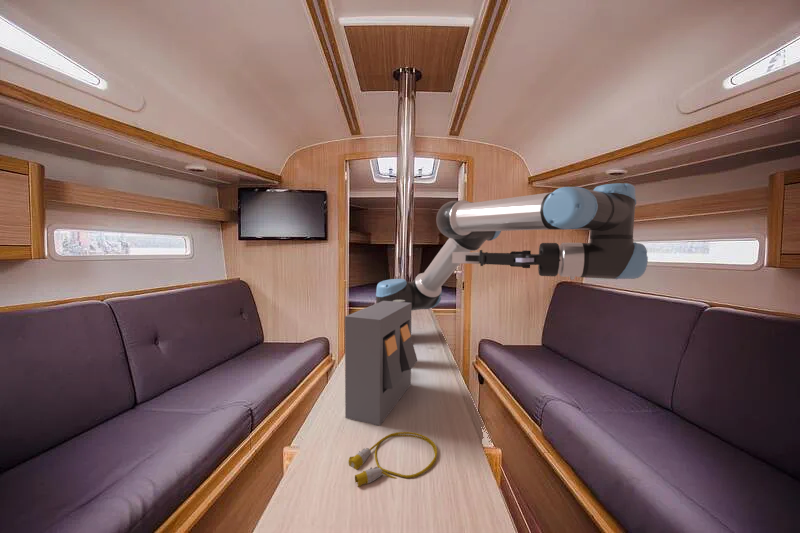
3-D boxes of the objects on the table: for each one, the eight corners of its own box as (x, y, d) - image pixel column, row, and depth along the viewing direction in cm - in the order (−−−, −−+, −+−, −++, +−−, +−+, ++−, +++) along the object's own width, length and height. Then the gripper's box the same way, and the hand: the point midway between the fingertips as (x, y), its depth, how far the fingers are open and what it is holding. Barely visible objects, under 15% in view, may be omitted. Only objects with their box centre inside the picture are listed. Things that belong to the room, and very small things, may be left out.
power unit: (383, 379, 85) (383, 300, 83) (410, 384, 82) (411, 302, 80) (345, 417, 66) (345, 316, 64) (379, 425, 63) (379, 319, 62)
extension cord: (348, 441, 59) (348, 431, 59) (429, 434, 61) (429, 424, 61) (347, 492, 47) (347, 479, 47) (447, 481, 49) (448, 469, 49)
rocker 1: (394, 377, 70) (386, 334, 70) (403, 377, 69) (395, 333, 69) (383, 388, 64) (374, 341, 65) (393, 388, 64) (384, 340, 64)
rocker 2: (410, 362, 79) (399, 324, 80) (418, 360, 78) (407, 322, 79) (402, 371, 74) (391, 330, 74) (411, 369, 73) (399, 328, 73)
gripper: (561, 279, 63) (447, 274, 71) (554, 274, 75) (457, 270, 83) (563, 242, 62) (447, 242, 70) (555, 243, 74) (457, 242, 83)
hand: (452, 257), depth 77 cm, fingers closed
